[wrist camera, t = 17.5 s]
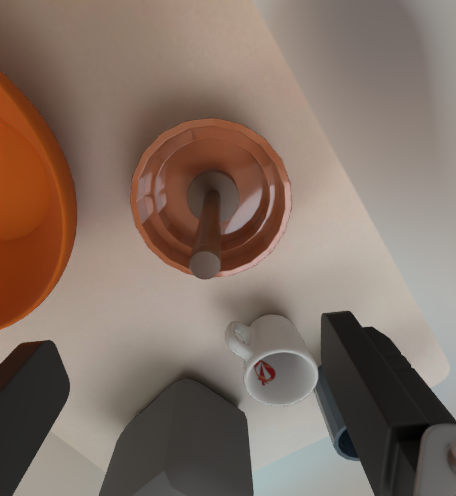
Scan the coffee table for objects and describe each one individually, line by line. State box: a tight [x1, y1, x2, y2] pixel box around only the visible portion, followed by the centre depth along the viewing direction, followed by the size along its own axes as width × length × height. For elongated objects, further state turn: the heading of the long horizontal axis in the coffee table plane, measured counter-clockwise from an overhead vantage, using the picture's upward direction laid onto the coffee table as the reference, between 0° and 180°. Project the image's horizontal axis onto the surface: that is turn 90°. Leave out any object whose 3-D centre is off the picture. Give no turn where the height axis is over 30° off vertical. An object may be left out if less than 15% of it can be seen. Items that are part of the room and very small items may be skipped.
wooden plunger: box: [187, 169, 239, 279], centre depth 23 cm, size 5×5×18 cm
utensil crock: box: [313, 365, 360, 461], centre depth 38 cm, size 7×7×9 cm
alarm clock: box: [99, 378, 253, 496], centre depth 37 cm, size 16×11×16 cm
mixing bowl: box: [130, 118, 291, 277], centre depth 29 cm, size 14×14×6 cm
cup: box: [225, 315, 318, 406], centre depth 35 cm, size 11×8×8 cm
